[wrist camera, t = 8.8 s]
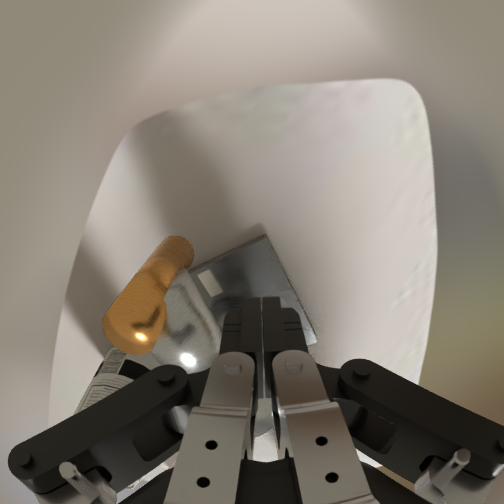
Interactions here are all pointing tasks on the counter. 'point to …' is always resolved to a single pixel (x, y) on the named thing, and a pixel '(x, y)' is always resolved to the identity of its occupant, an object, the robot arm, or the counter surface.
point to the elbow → (171, 318)
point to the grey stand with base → (247, 281)
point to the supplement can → (116, 378)
